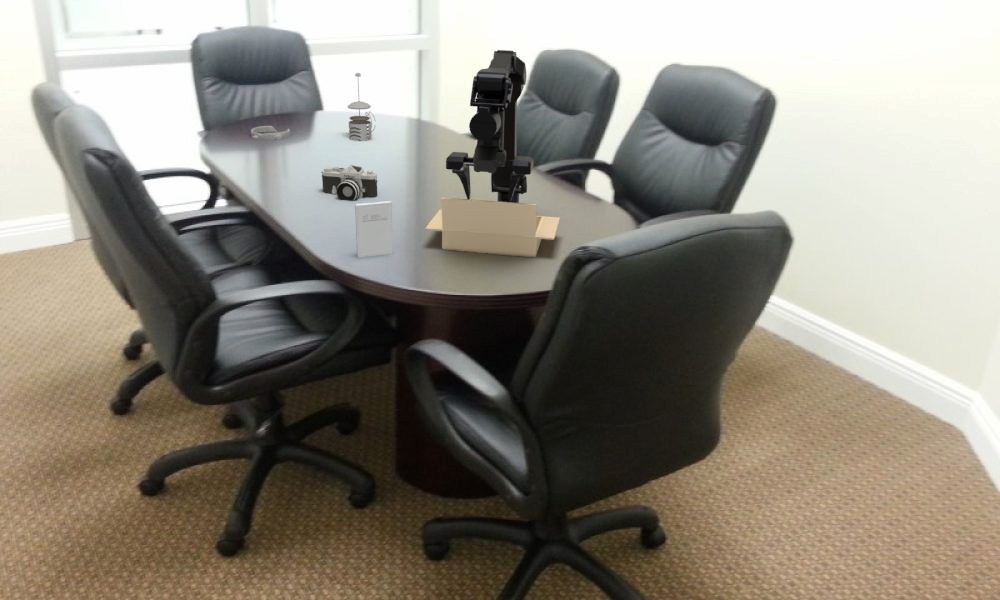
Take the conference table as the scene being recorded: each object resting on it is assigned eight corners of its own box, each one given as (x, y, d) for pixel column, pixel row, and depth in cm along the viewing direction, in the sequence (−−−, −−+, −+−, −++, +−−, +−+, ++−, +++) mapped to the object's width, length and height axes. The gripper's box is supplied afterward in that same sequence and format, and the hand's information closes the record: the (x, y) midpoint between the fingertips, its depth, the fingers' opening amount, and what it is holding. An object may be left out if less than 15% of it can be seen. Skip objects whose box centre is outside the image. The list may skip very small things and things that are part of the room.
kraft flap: (441, 197, 183) (441, 198, 182) (536, 204, 180) (536, 205, 179) (442, 228, 187) (442, 229, 187) (535, 235, 184) (535, 236, 184)
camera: (314, 201, 222) (312, 166, 218) (326, 193, 230) (324, 158, 226) (369, 206, 220) (368, 170, 216) (380, 198, 228) (378, 163, 224)
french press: (360, 141, 294) (357, 70, 284) (384, 145, 287) (382, 73, 278) (340, 145, 286) (337, 72, 276) (364, 150, 280) (361, 76, 270)
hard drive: (356, 256, 184) (354, 203, 179) (391, 252, 187) (390, 200, 182) (358, 258, 182) (356, 205, 178) (393, 254, 186) (392, 202, 181)
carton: (440, 227, 204) (440, 208, 202) (558, 236, 200) (560, 217, 198) (425, 248, 190) (425, 228, 188) (552, 258, 186) (554, 238, 184)
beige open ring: (260, 138, 294) (259, 124, 292) (297, 140, 292) (296, 126, 290) (243, 146, 281) (242, 132, 279) (281, 149, 279) (280, 134, 277)
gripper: (440, 136, 169) (440, 208, 176) (528, 141, 167) (525, 214, 173) (451, 126, 180) (451, 194, 186) (535, 131, 177) (531, 200, 183)
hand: (488, 200), depth 182 cm, fingers open, 9 cm apart
